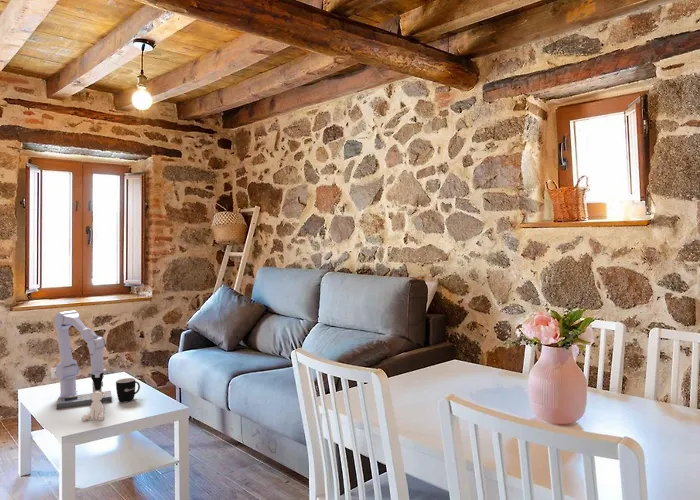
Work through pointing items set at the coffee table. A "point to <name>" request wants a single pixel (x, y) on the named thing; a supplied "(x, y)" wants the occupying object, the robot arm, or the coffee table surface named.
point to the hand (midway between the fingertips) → (97, 388)
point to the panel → (81, 400)
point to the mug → (126, 389)
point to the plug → (97, 390)
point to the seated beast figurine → (95, 408)
